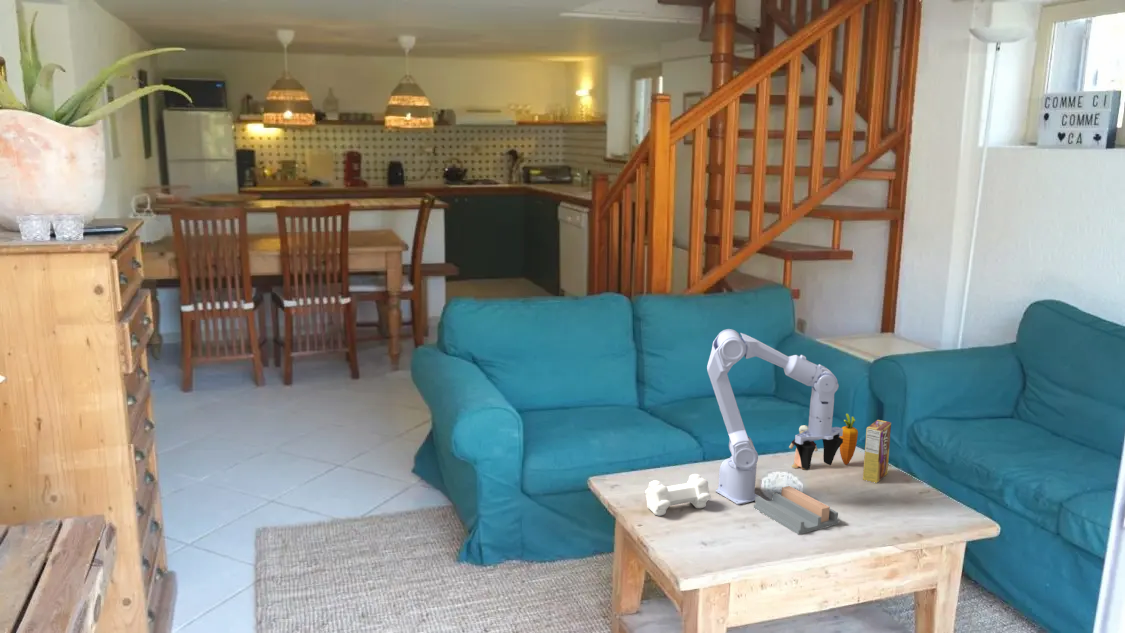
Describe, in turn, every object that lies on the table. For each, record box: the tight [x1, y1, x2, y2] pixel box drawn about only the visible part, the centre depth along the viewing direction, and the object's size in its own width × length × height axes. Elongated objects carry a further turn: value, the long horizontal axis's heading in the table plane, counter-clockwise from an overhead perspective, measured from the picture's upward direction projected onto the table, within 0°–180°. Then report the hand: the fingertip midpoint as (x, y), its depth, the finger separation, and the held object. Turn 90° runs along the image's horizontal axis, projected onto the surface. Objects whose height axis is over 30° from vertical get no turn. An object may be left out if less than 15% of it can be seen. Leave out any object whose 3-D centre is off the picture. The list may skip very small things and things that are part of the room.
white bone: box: [644, 473, 712, 517], centre depth 214 cm, size 15×9×8 cm, turn 113°
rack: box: [753, 492, 840, 535], centre depth 212 cm, size 16×13×3 cm
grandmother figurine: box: [788, 424, 819, 471], centre depth 242 cm, size 8×4×13 cm, turn 81°
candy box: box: [862, 419, 892, 484], centre depth 236 cm, size 9×4×15 cm, turn 141°
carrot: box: [839, 413, 859, 466], centre depth 244 cm, size 5×5×15 cm
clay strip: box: [780, 485, 831, 522], centre depth 213 cm, size 14×2×4 cm, turn 28°
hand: (816, 465), depth 219 cm, fingers open, 7 cm apart
